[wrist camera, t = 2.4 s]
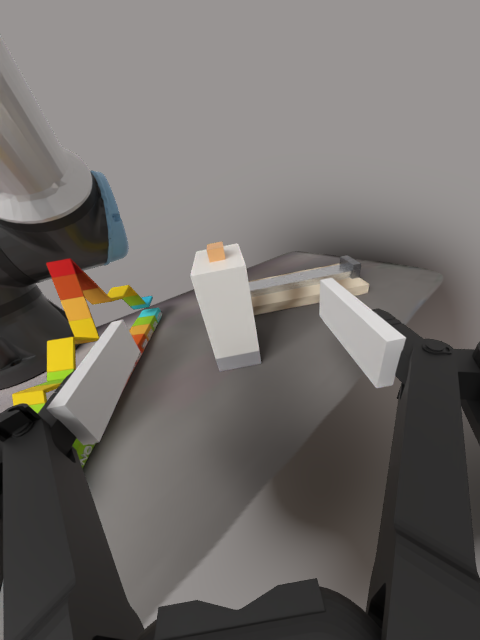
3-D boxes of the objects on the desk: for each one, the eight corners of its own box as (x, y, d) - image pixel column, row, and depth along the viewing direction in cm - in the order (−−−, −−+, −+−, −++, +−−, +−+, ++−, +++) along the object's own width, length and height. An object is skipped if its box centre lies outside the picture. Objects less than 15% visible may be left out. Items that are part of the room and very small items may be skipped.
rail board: (230, 319, 35) (228, 311, 34) (227, 292, 44) (225, 285, 43) (367, 292, 35) (369, 284, 34) (338, 270, 43) (338, 263, 42)
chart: (43, 555, 15) (-267, 433, 7) (1, 559, 15) (-348, 444, 7) (164, 316, 40) (128, 230, 32) (147, 319, 41) (107, 234, 33)
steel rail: (227, 303, 37) (224, 290, 35) (226, 291, 40) (223, 279, 39) (359, 277, 36) (361, 263, 35) (345, 268, 40) (347, 255, 39)
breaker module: (219, 371, 26) (186, 263, 19) (218, 332, 33) (193, 241, 26) (261, 363, 26) (243, 251, 19) (251, 325, 33) (236, 232, 26)
